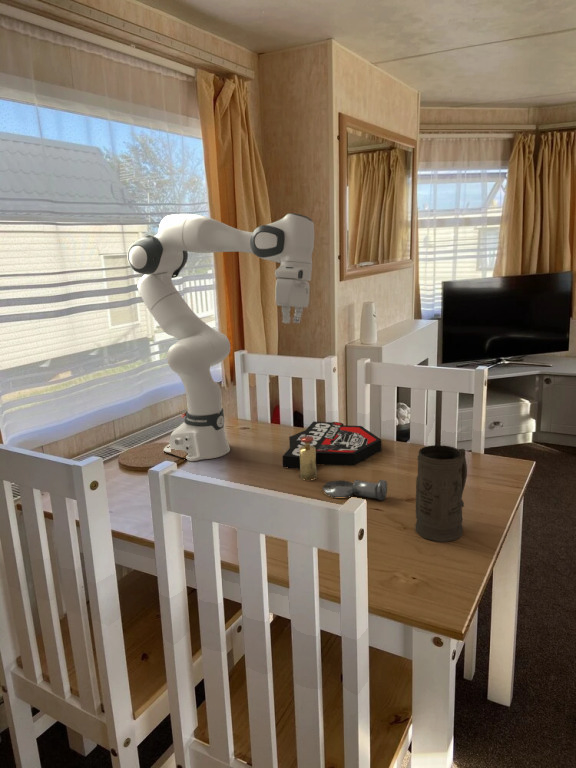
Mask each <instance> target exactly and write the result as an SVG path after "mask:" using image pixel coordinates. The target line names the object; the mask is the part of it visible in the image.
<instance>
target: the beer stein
mask: <svg viewBox="0 0 576 768" xmlns="http://www.w3.org/2000/svg"><path fill="white" fill-rule="evenodd" d="M417 453H418V454H417V458H416V459H417V476H416V478H415V479H416V480H415V481H416V482H415V519H416V522H415V526H414V528H415V533H417V534H418V535H419V536H420V537H422V538H424V539H426V540H429V541H433V542H440V543H442V542H443V543H444V542H445V543H446V542H451V541H455V540H458V539H460V538H461V537H462V536H463V531H464V530H463V508H464V507H465V506H464V505H465V503H464V501H463V493H464V490H465V485H466V483H467V477H468V464H467V460H466V458H467V457H466V449H465V448H456V447H453V446H448V445H444V444H443V445H441V444H435V445H428V446H424V447H421V448H420V449H419V451H418V452H417Z"/></svg>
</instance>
